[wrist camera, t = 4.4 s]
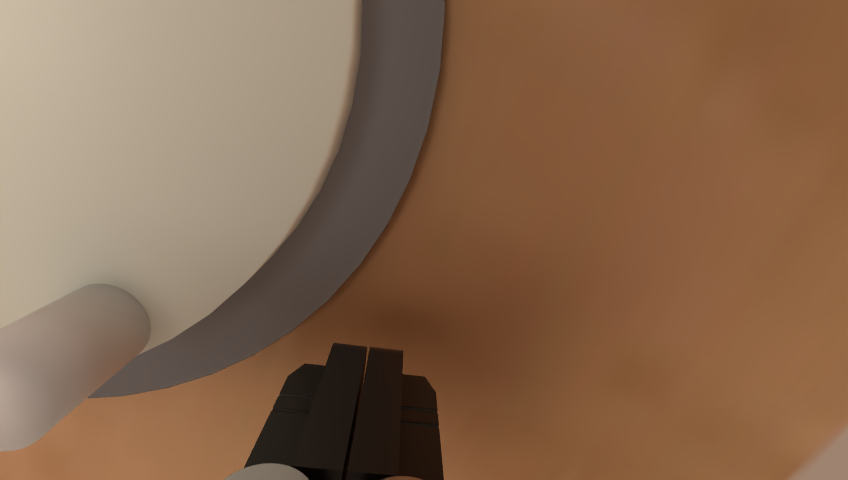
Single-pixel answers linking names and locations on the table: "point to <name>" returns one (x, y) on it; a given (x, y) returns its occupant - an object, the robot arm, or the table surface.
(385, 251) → the table surface
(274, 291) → the turntable base
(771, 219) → the table surface
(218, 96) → the shallow cream dish
